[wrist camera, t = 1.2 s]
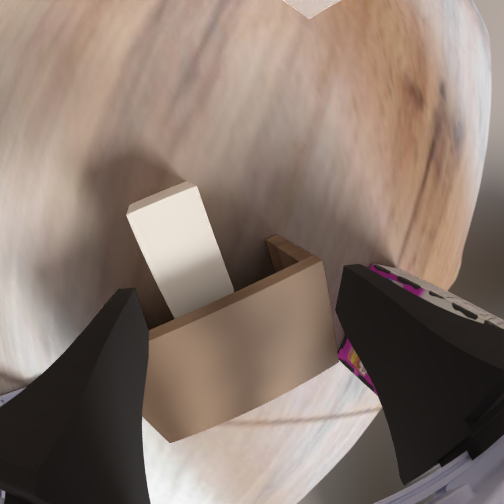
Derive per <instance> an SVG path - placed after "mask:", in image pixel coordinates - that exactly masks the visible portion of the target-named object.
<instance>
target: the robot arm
mask: <svg viewBox="0 0 504 504" xmlns="http://www.w3.org/2000/svg"><path fill="white" fill-rule="evenodd" d="M335 310H336V313H337V315H338V318H339V321H340V323H341V326H342V328H343V330H344V333H345V334H346V336H347V338H348V340H349V342H350V343H351V345H352V347H353V349H354V350H355V352H356V354H357V356H358V357H359V359H360V361H361V363H362V364H363V366H364V368H365V370H366V372H367V373H368V375H369V377H370V379H371V381H372V383H373V385H374V387H375V389H376V392H377V395H378V397H379V400H380V402H381V405H382V407H383V410H384V413H385V416H386V419H387V422H388V425H389V429H390V432H391V436H392V440H393V443H394V447H395V452H396V457H397V462H398V467H399V474H400V478H401V481H402V483H403V485H404V486H405V485H407V484H409V483H411V482H413V481H414V480H416V479H418V478H420V477H422V476H423V475H425V474H427V473H429V472H430V471H432V470H434V469H435V468H437V467H438V466H441V469H439V470H437V471H436V472H434V473H432V474H431V475H429V476H427V477H426V478H424V479H422V480H420V481H419V482H417V483H415V484H413V485H411V486H409V487H407V488H406V489H404V490H402V491H400V492H398V493H396V494H394V495H392V496H389V497H388V498H385V499H383V500H381V501H378V502H376V503H374V504H416V503H418V502H420V501H421V500H423V499H425V498H426V497H428V496H429V495H431V494H433V493H435V492H436V493H435V497H434V499H433V500H431V501H429V502H427V503H425V504H504V329H502V328H498V327H494V326H490V325H486V324H483V323H480V322H477V321H474V320H471V319H468V318H465V317H462V316H460V315H457V314H455V313H452V312H450V311H448V310H446V309H443V308H441V307H439V306H437V305H435V304H432V303H431V302H429V301H427V300H425V299H423V298H421V297H419V296H417V295H415V294H413V293H412V292H410V291H408V290H406V289H404V288H403V287H401V286H399V285H397V284H396V283H394V282H392V281H390V280H388V279H387V278H385V277H383V276H381V275H380V274H378V273H376V272H374V271H372V270H370V269H369V268H367V267H364V266H362V265H360V264H354V265H346V266H344V268H343V274H342V279H341V284H340V290H339V295H338V299H337V304H336V309H335ZM148 359H149V331H148V328H147V325H146V321H145V318H144V315H143V312H142V309H141V305H140V302H139V298H138V295H137V291H136V288H125V289H118V290H117V291H116V292H115V294H114V295H113V296H112V297H111V298H110V299H109V301H108V302H107V303H106V304H105V305H104V307H103V308H102V309H101V310H100V312H99V313H98V314H97V315H96V316H95V318H94V319H93V320H92V321H91V322H90V324H89V325H88V326H87V327H86V328H85V330H84V331H83V332H82V333H81V334H80V335H79V336H78V337H77V339H76V340H75V341H74V342H73V343H72V344H71V345H70V347H69V348H68V349H67V350H66V351H65V352H64V353H63V354H62V355H61V356H60V357H59V358H58V359H57V360H56V361H55V362H54V363H53V364H52V365H51V366H50V367H49V368H48V369H47V370H46V371H45V372H44V373H43V374H41V375H40V376H39V377H38V378H37V379H35V380H34V381H33V382H32V383H31V384H30V385H28V386H27V387H24V388H22V389H19V390H16V391H13V392H10V393H7V394H4V395H1V396H0V504H151V503H150V499H149V494H148V488H147V481H146V474H145V466H144V456H143V442H142V410H143V400H144V391H145V383H146V375H147V367H148Z"/></svg>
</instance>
